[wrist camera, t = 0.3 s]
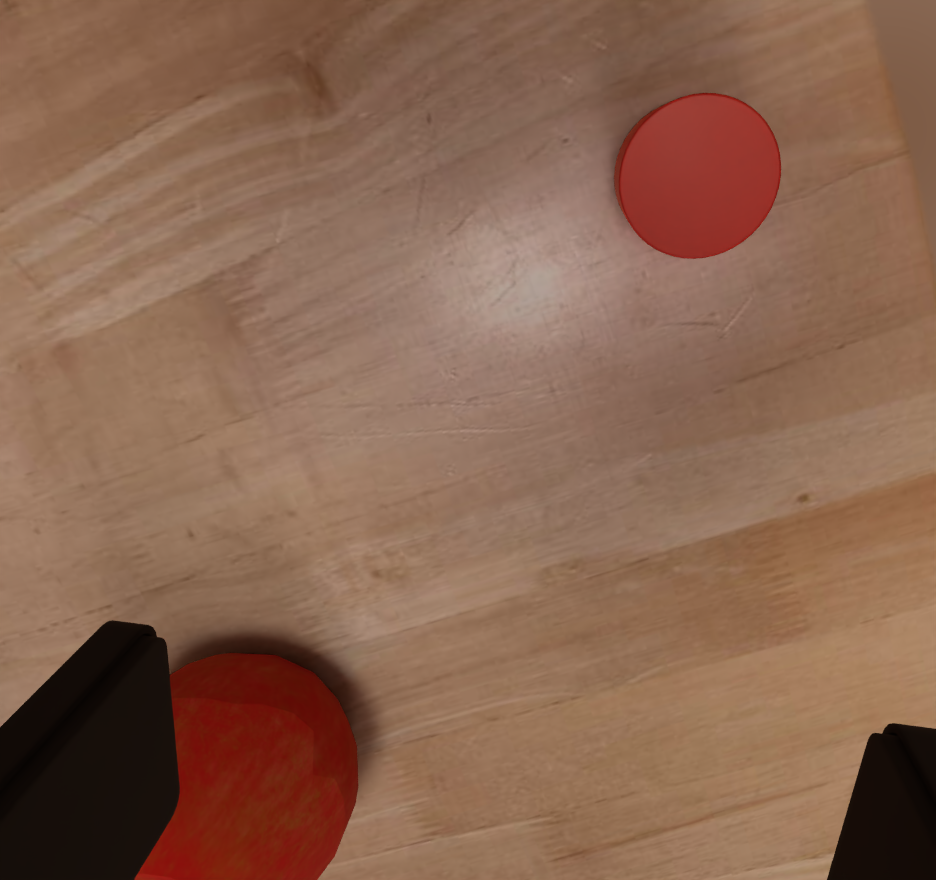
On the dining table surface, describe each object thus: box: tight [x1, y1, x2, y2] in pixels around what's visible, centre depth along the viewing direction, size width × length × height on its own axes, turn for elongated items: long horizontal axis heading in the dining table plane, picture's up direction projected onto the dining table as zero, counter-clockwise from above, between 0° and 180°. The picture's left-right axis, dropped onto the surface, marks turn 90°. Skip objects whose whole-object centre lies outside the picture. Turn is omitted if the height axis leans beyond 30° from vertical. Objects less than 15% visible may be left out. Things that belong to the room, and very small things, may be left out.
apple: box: [134, 653, 358, 880], centre depth 31 cm, size 10×10×10 cm
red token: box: [614, 93, 781, 259], centre depth 24 cm, size 4×4×4 cm
